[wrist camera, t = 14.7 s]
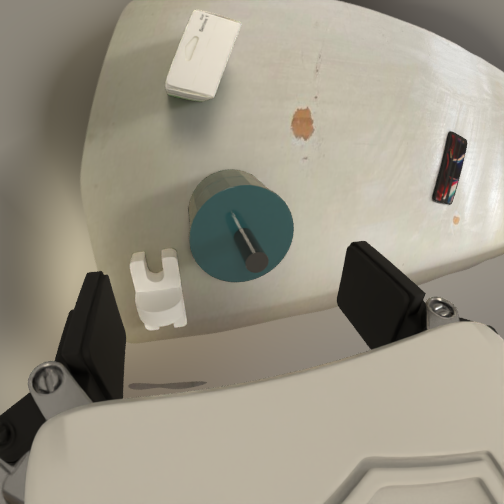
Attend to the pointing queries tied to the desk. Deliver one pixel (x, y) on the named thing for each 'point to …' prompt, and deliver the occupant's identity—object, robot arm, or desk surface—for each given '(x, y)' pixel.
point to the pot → (218, 187)
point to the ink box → (201, 56)
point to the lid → (241, 233)
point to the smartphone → (450, 169)
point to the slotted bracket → (158, 291)
